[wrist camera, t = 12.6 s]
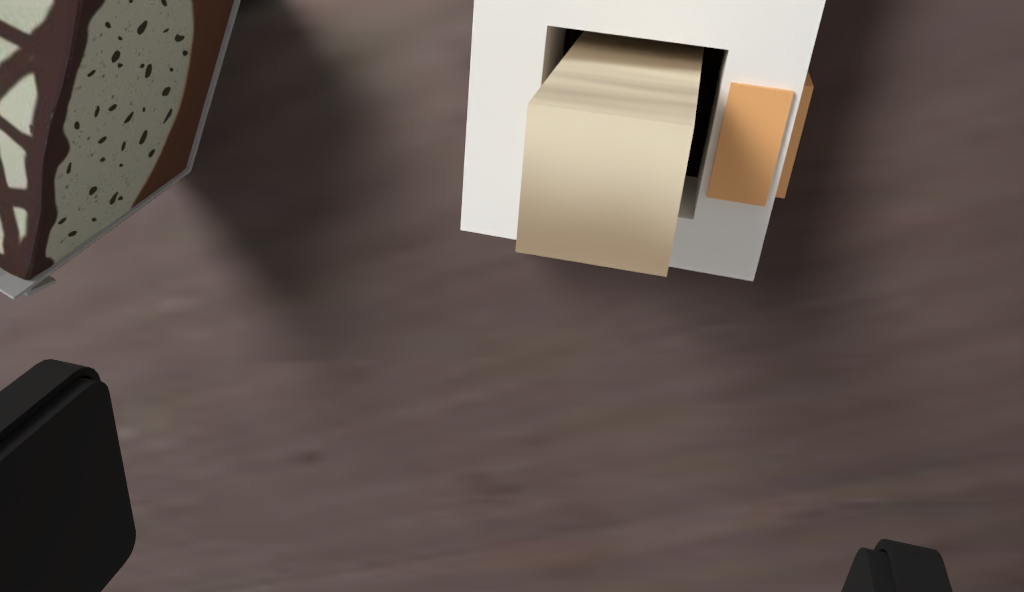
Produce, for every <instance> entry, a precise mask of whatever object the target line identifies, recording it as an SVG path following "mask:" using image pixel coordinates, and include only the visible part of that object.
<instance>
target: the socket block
mask: <svg viewBox="0 0 1024 592" xmlns="http://www.w3.org/2000/svg"><path fill="white" fill-rule="evenodd" d="M825 1H826V0H474V13H473V29H472V46H471V63H470V79H469V96H468V112H467V129H466V146H465V162H464V179H463V196H462V212H461V229H460V230H464V231H470V232H476V233H481V234H487V235H493V236H498V237H504V238H510V239H517V227H518V215H519V203H520V191H521V179H522V167H523V155H524V143H525V130H526V118H527V106H528V103H529V101H530V100H531V99H532V97H533V96H534V95H535V94H536V92H537V91H538V90H539V88H540V87H541V86H542V85H543V83H544V82H545V81H546V79H547V78H548V77H549V75H550V74H551V73H552V72H553V70H554V69H555V68H556V66H557V65H558V64H559V63H560V61H561V60H562V59H563V52H564V43H565V34H566V28H570V29H577V30H585V31H592V32H600V33H607V34H614V35H622V36H629V37H637V38H644V39H652V40H659V41H666V42H674V43H681V44H689V45H696V46H704V47H711V48H718V49H724V51H723V56H722V60H721V65H720V70H719V75H718V80H717V85H716V90H715V94H714V99H713V104H712V109H711V114H710V119H709V124H708V128H707V133H706V138H705V143H704V148H703V153H702V158H701V162H700V167H699V172H698V177H692V176H686V175H685V180H684V185H683V191H682V196H681V202H680V207H679V212H678V218H677V223H676V229H675V234H674V240H673V245H672V250H671V256H670V261H669V267H675V268H680V269H686V270H692V271H697V272H703V273H709V274H715V275H720V276H726V277H732V278H737V279H743V280H749V281H754V277H755V273H756V269H757V265H758V261H759V258H760V254H761V250H762V246H763V242H764V238H765V234H766V230H767V226H768V223H769V219H770V215H771V211H772V207H773V203H774V199H775V197H779V198H785V195H786V191H787V187H788V183H789V179H790V176H791V172H792V168H793V164H794V160H795V157H796V153H797V149H798V145H799V141H800V138H801V134H802V130H803V126H804V122H805V119H806V115H807V111H808V107H809V103H810V100H811V96H812V92H813V88H814V86H813V83H812V80H811V78H810V75H809V72H808V67H809V63H810V59H811V56H812V52H813V48H814V44H815V40H816V36H817V32H818V28H819V24H820V21H821V17H822V13H823V9H824V5H825Z"/></svg>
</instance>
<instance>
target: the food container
mask: <svg viewBox="0 0 1024 592" xmlns="http://www.w3.org/2000/svg"><path fill="white" fill-rule="evenodd" d="M240 1H241V0H0V291H1V292H2V293H4V294H6V295H7V296H9V297H10V298H12V299H15V298H17V297H19V296H20V295H22V294H24V295H26V296H28V295H31V294H33V293H35V292H37V291H39V290H42V289H44V288H46V287H48V286H50V285H53V284H55V281H56V280H55V279H54V278H52V277H50V276H49V275H50V274H52V273H53V272H54V271H56V270H57V269H58V268H60V267H61V266H63V265H64V264H65V263H67V262H68V261H69V260H71V259H72V258H74V257H75V256H76V255H78V254H79V253H80V252H82V251H83V250H85V249H86V248H87V247H89V246H90V245H91V244H93V243H94V242H96V241H97V240H98V239H100V238H101V237H102V236H104V235H105V234H106V233H108V232H109V231H111V230H112V229H113V228H115V227H116V226H117V225H119V224H120V223H122V222H123V221H124V220H126V219H127V218H128V217H130V216H131V215H133V214H134V213H135V212H137V211H138V210H139V209H141V208H142V207H144V206H145V205H146V204H148V203H149V202H150V201H152V200H153V199H155V198H156V197H157V196H159V195H160V194H161V193H163V192H164V191H165V190H167V189H168V188H170V187H171V186H172V185H174V184H175V183H176V182H178V181H179V180H181V179H182V178H183V177H185V176H186V175H187V174H189V173H190V172H191V170H192V167H193V163H194V160H195V156H196V153H197V149H198V146H199V142H200V139H201V136H202V132H203V129H204V125H205V122H206V118H207V115H208V111H209V108H210V105H211V101H212V98H213V94H214V91H215V87H216V84H217V80H218V77H219V74H220V70H221V67H222V63H223V60H224V56H225V53H226V49H227V46H228V43H229V39H230V36H231V32H232V29H233V25H234V22H235V18H236V15H237V12H238V8H239V5H240Z"/></svg>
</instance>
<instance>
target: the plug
mask: <svg viewBox="0 0 1024 592" xmlns="http://www.w3.org/2000/svg"><path fill="white" fill-rule="evenodd" d="M703 51H704V46H696V45H689V44H681V43H674V42H666V41H659V40H652V39H644V38H637V37H629V36H622V35H614V34H607V33H600V32H592V31H585V30H584V32H583V33H582V34H581V35H580V37H579V38H578V39H577V41H576V42H575V43H574V44H573V46H572V47H571V48H570V50H569V51H568V52H567V54H566V55H565V56H564V57H563V59H562V60H561V61H560V63H559V64H558V65H557V66H556V68H555V69H554V70H553V72H552V73H551V74H550V75H549V77H548V78H547V79H546V81H545V82H544V83H543V85H542V86H541V87H540V88H539V90H538V91H537V92H536V94H535V95H534V96H533V97H532V99H531V100H530V101H529V103H528V106H527V118H526V130H525V143H524V155H523V167H522V179H521V191H520V203H519V215H518V227H517V239H516V251H515V252H520V253H526V254H532V255H538V256H544V257H550V258H556V259H562V260H568V261H574V262H580V263H586V264H592V265H598V266H604V267H610V268H616V269H622V270H628V271H634V272H640V273H646V274H652V275H658V276H664V277H667V272H668V267H669V261H670V256H671V250H672V245H673V240H674V234H675V229H676V223H677V218H678V212H679V207H680V202H681V196H682V191H683V185H684V180H685V174H686V169H687V164H688V158H689V153H690V147H691V142H692V136H693V131H694V125H695V117H696V109H697V100H698V92H699V84H700V75H701V67H702V59H703Z"/></svg>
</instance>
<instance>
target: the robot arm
mask: <svg viewBox="0 0 1024 592" xmlns="http://www.w3.org/2000/svg"><path fill="white" fill-rule="evenodd" d="M135 539H136V530H135V525H134V520H133V514H132V509H131V504H130V499H129V493H128V488H127V483H126V477H125V472H124V467H123V462H122V456H121V451H120V446H119V441H118V435H117V430H116V425H115V419H114V414H113V409H112V404H111V398H110V393H109V390H108V387H107V385H106V384H105V383H103V382H101V380H100V377H99V375H98V373H97V372H96V371H95V370H94V369H92V368H89V367H85V366H81V365H76V364H71V363H67V362H62V361H58V360H53V359H49V360H43V361H42V362H40V363H38V364H36V365H35V366H34V367H32V368H31V369H30V370H28V371H27V372H26V373H24V374H23V375H22V376H20V377H19V378H18V379H16V380H15V381H14V382H12V383H11V384H10V385H8V386H7V387H6V388H4V389H3V390H2V391H0V592H101V591H102V590H103V588H104V587H105V586H106V585H107V584H108V583H109V581H110V580H111V579H112V578H113V577H114V575H115V574H116V573H117V572H118V571H119V569H120V568H121V567H122V566H123V565H124V563H125V562H126V561H127V559H128V558H129V556H130V554H131V552H132V550H133V547H134V544H135ZM841 592H952V588H951V585H950V582H949V578H948V575H947V572H946V568H945V565H944V562H943V559H942V557H941V555H940V553H939V552H938V551H937V550H934V549H929V548H925V547H920V546H915V545H911V544H906V543H902V542H897V541H892V540H888V539H881V540H880V541H879V542H878V543H877V545H876V547H875V549H874V550H871V549H867V548H860V549H859V550H858V552H857V554H856V556H855V559H854V561H853V564H852V566H851V569H850V571H849V574H848V576H847V579H846V581H845V584H844V586H843V589H842V591H841Z"/></svg>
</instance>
